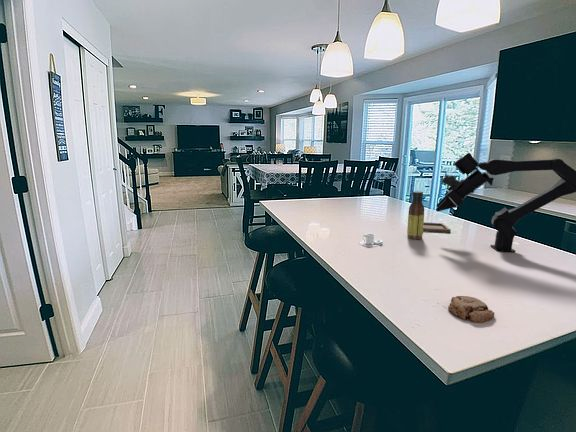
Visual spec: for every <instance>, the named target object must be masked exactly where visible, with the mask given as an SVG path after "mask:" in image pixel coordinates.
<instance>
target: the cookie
mask: <svg viewBox="0 0 576 432" xmlns="http://www.w3.org/2000/svg"><path fill="white" fill-rule="evenodd" d="M447 310H448V311H450V312H451V313H452V314H454V315H455V317H456V316H457V317H458V318H460V319H462V320H463V321H469V322H473V323H486V322H489V321H490V320H492V319H494V318H495V312H494V311H493V310H491V309H489V306H488V305H487V304H486V303H485V302H483V301H482V300H481V299H479V298H477V297H473V296H469V295H457V296H452V297H451V300H450V303H449V305H448V307H447Z"/></svg>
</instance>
